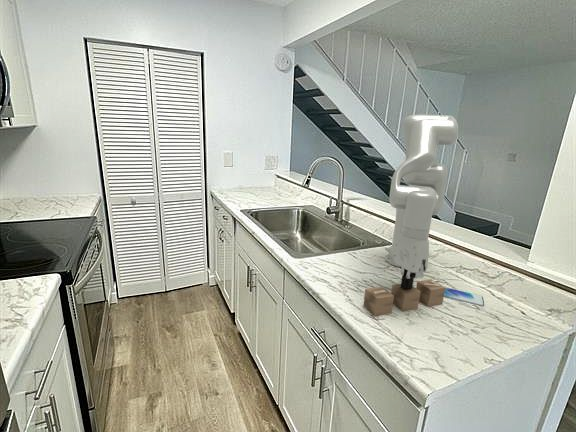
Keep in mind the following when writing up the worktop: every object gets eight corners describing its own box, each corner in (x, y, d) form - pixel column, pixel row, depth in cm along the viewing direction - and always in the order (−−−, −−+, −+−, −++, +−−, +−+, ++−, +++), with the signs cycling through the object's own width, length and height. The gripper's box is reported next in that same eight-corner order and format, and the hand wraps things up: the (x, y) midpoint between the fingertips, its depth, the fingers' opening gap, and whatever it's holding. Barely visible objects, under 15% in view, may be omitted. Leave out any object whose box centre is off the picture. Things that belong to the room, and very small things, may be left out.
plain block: (389, 301, 102) (392, 284, 101) (404, 299, 104) (407, 282, 103) (402, 311, 97) (405, 293, 95) (417, 308, 99) (420, 291, 97)
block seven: (414, 297, 106) (417, 280, 104) (428, 295, 108) (431, 278, 106) (427, 307, 100) (431, 289, 99) (442, 304, 102) (445, 286, 101)
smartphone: (484, 306, 102) (434, 293, 108) (484, 308, 102) (433, 295, 109) (483, 295, 108) (435, 284, 115) (482, 298, 108) (435, 286, 115)
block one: (363, 306, 99) (365, 288, 97) (379, 303, 101) (381, 285, 99) (374, 316, 93) (377, 297, 92) (391, 313, 96) (394, 295, 94)
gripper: (388, 225, 100) (381, 279, 104) (423, 241, 86) (413, 301, 91) (408, 224, 102) (400, 276, 107) (444, 239, 89) (433, 298, 94)
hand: (406, 288), depth 99 cm, fingers closed
